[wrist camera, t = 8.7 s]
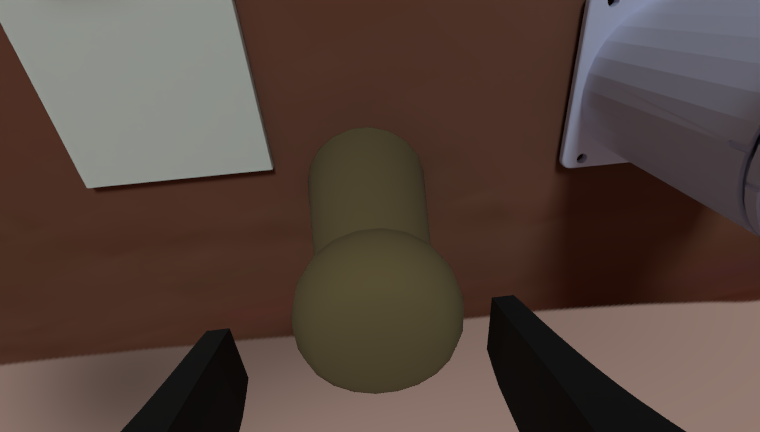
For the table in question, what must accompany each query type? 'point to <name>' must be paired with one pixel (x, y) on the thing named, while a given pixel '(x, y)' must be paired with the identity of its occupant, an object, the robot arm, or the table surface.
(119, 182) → the pale green mat
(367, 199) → the olive stepped cylinder
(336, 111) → the table surface
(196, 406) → the robot arm
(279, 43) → the table surface
